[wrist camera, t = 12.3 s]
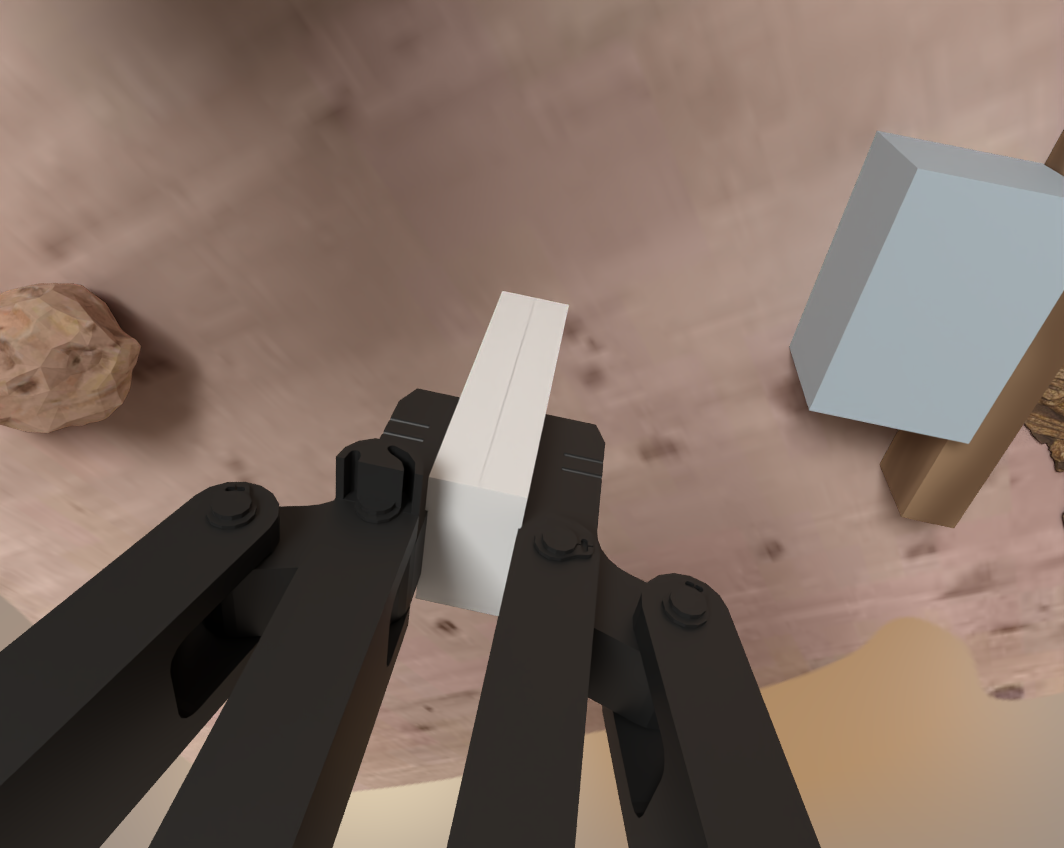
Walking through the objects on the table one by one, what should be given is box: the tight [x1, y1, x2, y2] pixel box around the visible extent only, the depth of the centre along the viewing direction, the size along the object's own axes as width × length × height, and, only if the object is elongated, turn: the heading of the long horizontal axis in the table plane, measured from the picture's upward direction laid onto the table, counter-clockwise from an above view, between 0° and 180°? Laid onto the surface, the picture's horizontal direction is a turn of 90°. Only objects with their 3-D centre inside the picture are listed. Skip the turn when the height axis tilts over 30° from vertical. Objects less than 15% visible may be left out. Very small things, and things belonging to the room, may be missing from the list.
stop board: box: [880, 130, 1064, 528], centre depth 36 cm, size 3×28×5 cm, turn 171°
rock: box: [0, 283, 141, 433], centre depth 45 cm, size 18×10×10 cm, turn 116°
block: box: [789, 131, 1064, 444], centre depth 36 cm, size 8×12×7 cm, turn 171°
